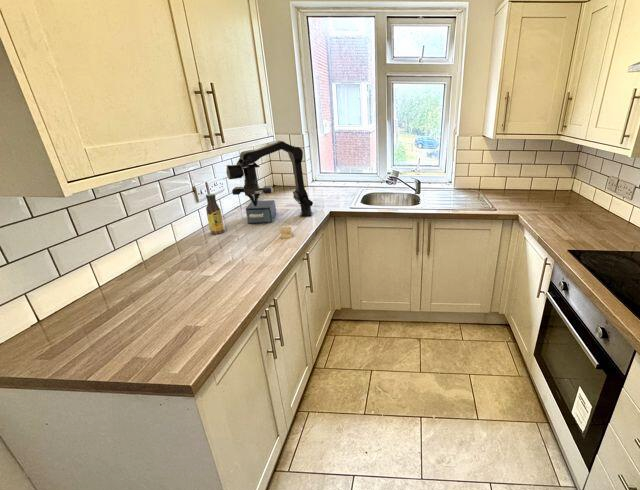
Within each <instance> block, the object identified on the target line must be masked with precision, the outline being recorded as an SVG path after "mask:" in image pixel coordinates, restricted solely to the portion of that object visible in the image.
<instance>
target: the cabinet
mask: <svg viewBox="0 0 640 490" xmlns="http://www.w3.org/2000/svg"><path fill="white" fill-rule="evenodd" d="M254 209H269V213H270V219H271V221H270V222H269V223H273V222H274V220H275V218H276V217H277V208H276V200H275V199H272V200H271V199H269V200H268V199H267V200H258V202H257V206H254V204H253V202H252V201H250V202H249V204H248V205H247V206H246V207H245V214H246V215H247V212H246V211H247V210H254ZM246 220H248V218H247V217H246ZM263 223H264V224H265V223H266V222H255V223H254V224H263Z"/></svg>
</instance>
